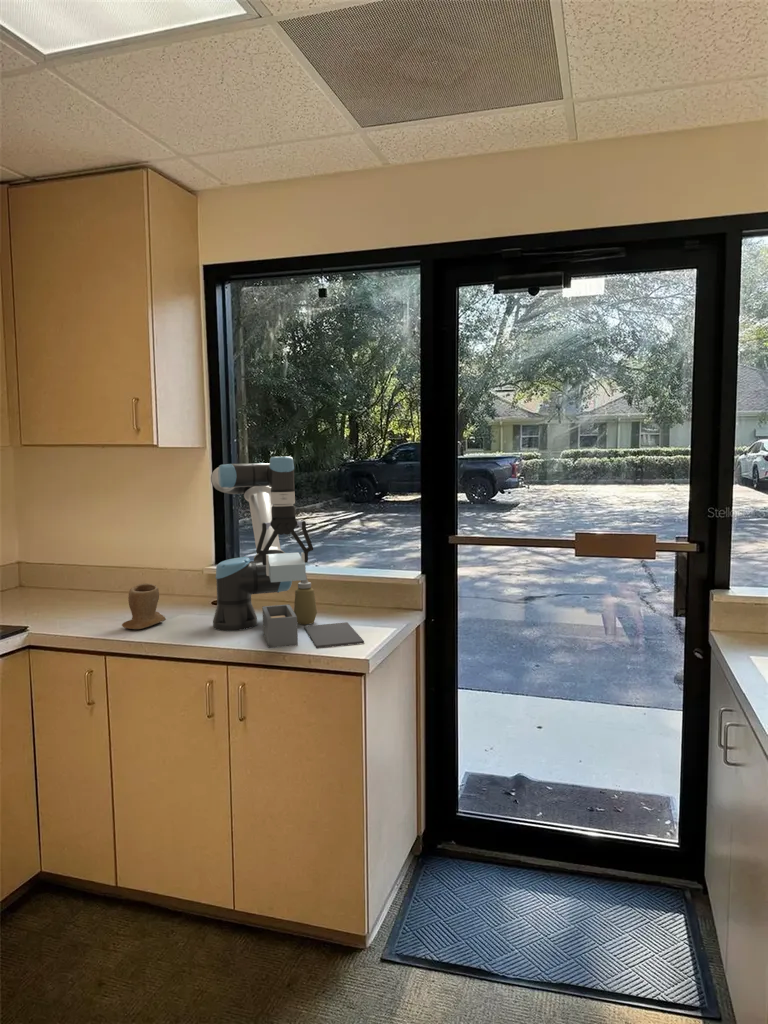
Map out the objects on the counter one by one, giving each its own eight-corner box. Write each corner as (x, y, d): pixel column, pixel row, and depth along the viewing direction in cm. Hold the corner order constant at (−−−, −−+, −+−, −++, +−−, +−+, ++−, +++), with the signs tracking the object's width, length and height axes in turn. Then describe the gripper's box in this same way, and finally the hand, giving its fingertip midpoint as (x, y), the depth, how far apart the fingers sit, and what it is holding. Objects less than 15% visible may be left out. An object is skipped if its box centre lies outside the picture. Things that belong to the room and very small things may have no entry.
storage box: (263, 632, 217) (262, 606, 216) (290, 630, 219) (289, 604, 219) (268, 648, 200) (267, 619, 199) (297, 645, 202) (296, 616, 201)
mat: (304, 628, 222) (304, 626, 222) (347, 624, 226) (347, 622, 226) (316, 648, 199) (316, 645, 199) (364, 643, 203) (363, 641, 203)
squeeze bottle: (297, 627, 223) (296, 575, 222) (291, 621, 231) (289, 571, 229) (320, 624, 227) (318, 573, 225) (313, 619, 234) (311, 569, 232)
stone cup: (142, 633, 219) (140, 589, 218) (117, 629, 225) (114, 587, 223) (175, 622, 233) (173, 581, 231) (150, 619, 238) (148, 579, 237)
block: (267, 569, 216) (266, 554, 215) (298, 567, 218) (298, 552, 218) (270, 582, 197) (270, 566, 196) (305, 580, 199) (305, 564, 199)
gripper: (246, 507, 200) (249, 578, 201) (321, 504, 205) (323, 573, 207) (245, 506, 207) (248, 574, 209) (317, 503, 212) (320, 570, 214)
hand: (285, 574), depth 208 cm, fingers closed on block, 11 cm apart
